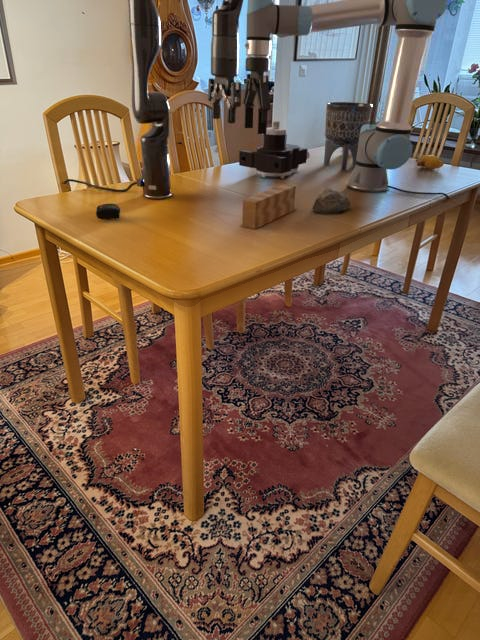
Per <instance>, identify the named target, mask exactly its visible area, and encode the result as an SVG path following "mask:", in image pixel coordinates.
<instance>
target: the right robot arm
mask: <svg viewBox="0 0 480 640" xmlns="http://www.w3.org/2000/svg"><path fill="white" fill-rule="evenodd" d="M447 4H448V0H337V1H330V2H324V3H317V4H310V5H303V4H300V5H295V4H294V5H292V4H291V5H290V4H289V5H288V4H287V5H286V4H275V3H274V0H247V9H246V32H245V33H246V43H245V44H244V47H245V48H246V49H245V55H246V56H247V57H245V71H246V72H250V73H247V74H246V81H245V88H244V94H243V99H242V104H243V105H244V129H253V128H254V127H253V126H254V108H255V104H254V101H255V100H256V99H255V98H257V103H258V109H257V112H258V113H257V115H258V117H257V135H264V134H266V131H267V128H268V113H269V111H270V110H271V108H272V107H271V96H270V88H269V87H270V86H269V75H265V73H268V72H269V71H270V67H271V59H270V56H271V54H272V53H271V52H272V35H274V36H276V37H278V38H287V37H292V36H296V37H303V36H309V35H310V34H311V33H312V34H313V33H318V32H326V31H333V30H341V29H347V28H353V27H360V26H367V25H374V26H376V27H378V28H379V27H388V26H389V27H391V26H394V32H395V34H396V36H397V43H396V48H395V52H394V58H393V62H392V68H391V72H390V78H389V83H388V89H387V93H386V98H385V104H384V108H383V113H382V119H381V120H380V121H379V122H378V123H376V124H369V125H363V126H362V127H361V131H360V134H359V143H358V151H357V158H356V165H355V166H354V167H353V171H351V174H350V176H349V179H348V182H347V187H348V188H349V189H351V190H354V191H358V192H363V193H364V192H365V193H382V192H386V191H388V189H392V190H396V191H397V192H398V191H399V192H403V193H406V194H412V195H413V194H415V195H430V196H437V195H441V196H444V197H446V198H447V199H450V196H449V195H448V194H447V193H445V192H430V191H429V192H427V191H424V192H423V191H411V190H405V189H401V188H398V187H395V186H392V185H389V178H388V173H387V172H388V171H387V170H391V171H392V170H397V169H400V168H401V167H402V166H404V165H405V164H406V163H408V161H409V160H410V158H411V155H412V153H413V144H412V141H411V139H410V138H411V137H410V136H411V134H412V133H411V132H412V126H411V125H410V123H409V120H410V117H411V111H412V107H413V101H414V97H415V93H416V89H417V85H418V80H419V76H420V70H421V67H422V62H423V58H424V54H425V50H426V45H427V40H428V38H430V37H431V36H432V35H433V34H434V32H435V28H436V24H437V20H439V19H440V18H441V17H442V15H443V14H444V13H445V10H446V9H447Z"/></svg>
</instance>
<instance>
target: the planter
mask: <svg viewBox="0 0 480 640" xmlns="http://www.w3.org/2000/svg"><path fill="white" fill-rule="evenodd" d="M373 107H374V106H373V104H372V103H367V102H353V101H333V102H327V103H326V109H325V124H324V125H325V126H324V139H325V144H324V156H323V157H324V158H323V165H325V166H328V165H330V163H331V158H332V156H333V154H334V153H335V151H336V150H337V149H340V148H341V149H342V152H341V166H340V170H341V172H345V171H347V167H348V166H347V165H348V159H349V154H348V152H349V150H350V151H351V153H352V155H351V157H352V158H351V159H352V160H351V161H352V166H353V167H355V165H356V158H357V151H358V143H359V134H360V131H361V127H362V126H363V125H370V121H371V116H372V112H373Z"/></svg>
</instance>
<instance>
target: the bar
mask: <svg viewBox="0 0 480 640" xmlns="http://www.w3.org/2000/svg"><path fill="white" fill-rule="evenodd" d="M296 190H297V186H296V185H293V184H286V183H282V184H279V185H277V186H274V187H272V188H269V189H267V190H264V191H261V192H258V193H256V194H254V195H251V196H249V197H246V198H243V199H242V215H241V216H242V220H241V221H242V223H241V226H242V227H244V228H249V229H253V230H256V229H258V228H260V227H262V226H264V225H266V224H268V223H271V222H272V221H274V220H277V219H279V218H281V217H283V216H285V215H287V214H289V213H291V212H293V211H294V210H295V201H296Z"/></svg>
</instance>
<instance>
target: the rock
mask: <svg viewBox="0 0 480 640" xmlns="http://www.w3.org/2000/svg"><path fill="white" fill-rule="evenodd" d="M351 207H352V204H351V201H350V199H349V198H348V196H347V195H346V194H344V193H342V192H340V191H337V190H334V189H332V188H329V187H325V189H324V190H323V192H321V193H320V194H319V195H318V196H317V197H316V198H315V200H314V202H313V205H312V210H313V211H314V212H316V213H318V212H319V213H322V214H335V213H337V214H339V213H343V212H344V210H348V209H349V208H351Z"/></svg>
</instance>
